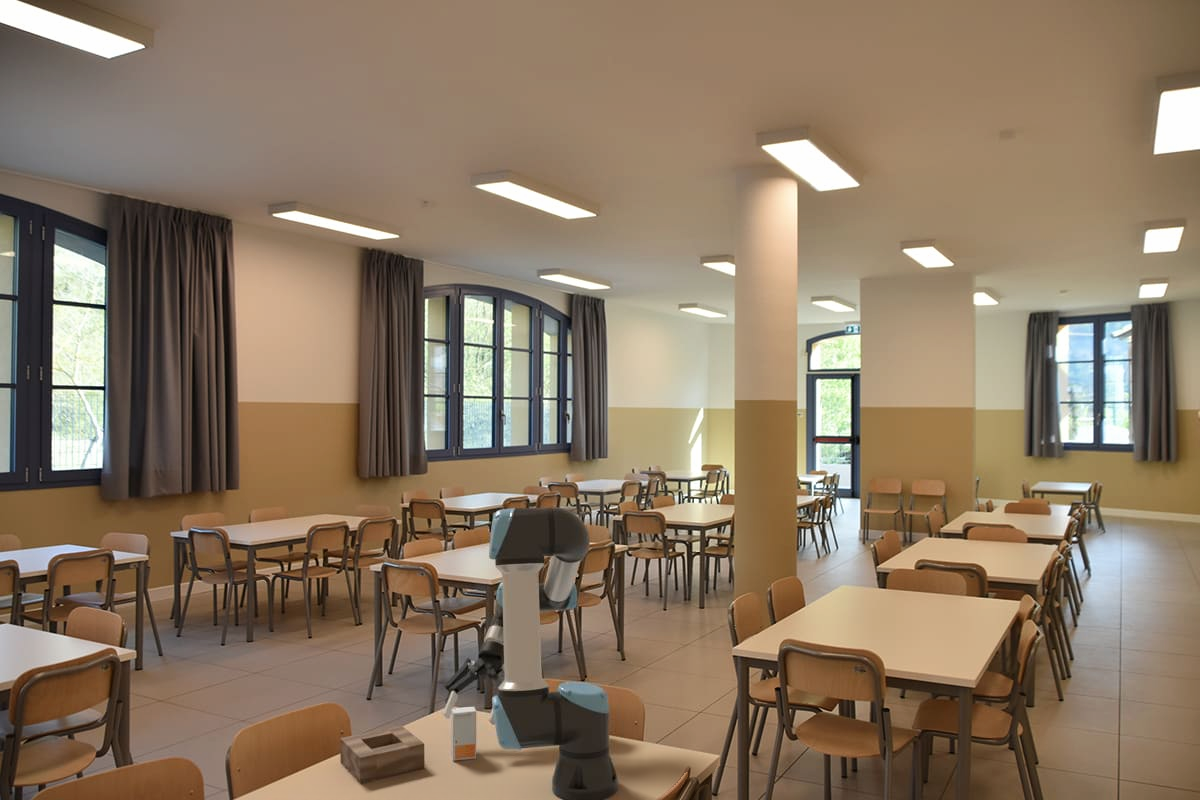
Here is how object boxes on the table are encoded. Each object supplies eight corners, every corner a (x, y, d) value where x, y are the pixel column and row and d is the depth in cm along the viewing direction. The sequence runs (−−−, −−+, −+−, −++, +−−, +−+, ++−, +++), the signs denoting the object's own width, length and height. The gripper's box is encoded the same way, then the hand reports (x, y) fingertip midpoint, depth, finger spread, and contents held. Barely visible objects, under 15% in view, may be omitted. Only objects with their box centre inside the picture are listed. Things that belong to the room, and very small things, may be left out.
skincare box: (452, 761, 214) (452, 713, 214) (451, 755, 218) (450, 708, 218) (477, 758, 215) (476, 710, 216) (475, 752, 219) (474, 705, 220)
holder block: (424, 768, 210) (424, 743, 210) (360, 783, 201) (360, 757, 201) (401, 748, 223) (401, 725, 223) (340, 762, 214) (340, 738, 215)
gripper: (541, 658, 232) (516, 731, 218) (462, 650, 242) (433, 720, 227) (532, 642, 228) (505, 717, 213) (451, 635, 237) (421, 706, 223)
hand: (468, 719), depth 220 cm, fingers open, 13 cm apart
